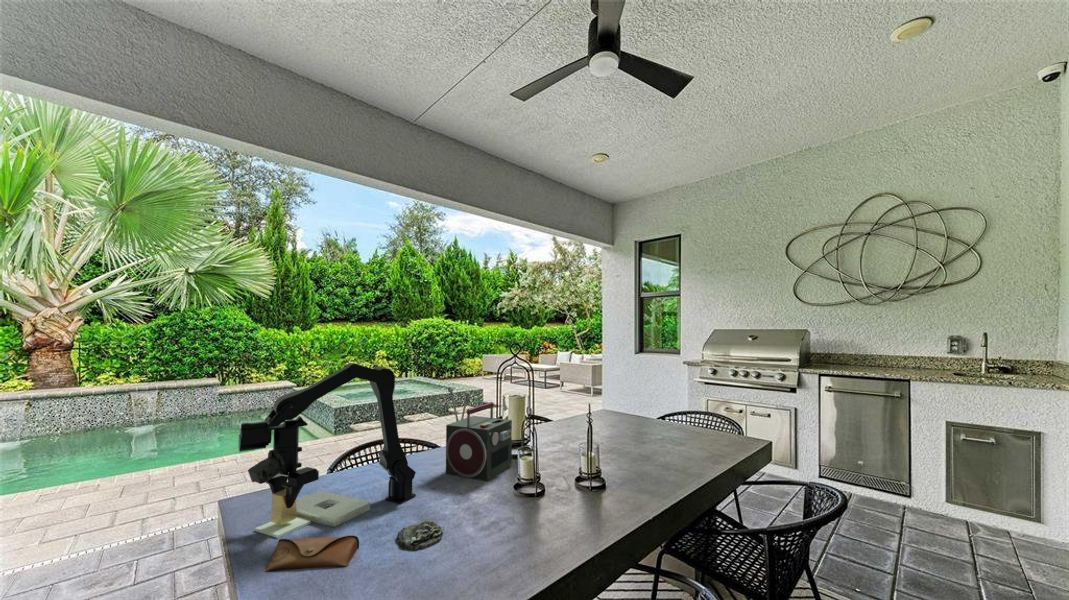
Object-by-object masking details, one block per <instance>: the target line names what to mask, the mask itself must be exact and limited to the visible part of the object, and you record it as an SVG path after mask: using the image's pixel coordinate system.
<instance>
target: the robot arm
mask: <svg viewBox="0 0 1069 600" xmlns="http://www.w3.org/2000/svg"><path fill="white" fill-rule="evenodd" d="M353 379H360V380H364V381H369V384H370V387H371V389H372V391H373V393H374V395H375V397H376V400H377V401H376V402H377V407H378V412H379V413H378V414H379V420H380V428H381V433H382V435H381V436H382V440H383V446H382V450H378V451H377V455H378V456H379V463H378V465H380V466H381V467H382V469H383V470H385V471H386V472H387V474H388V475H389V479H388V480H389V481H388V491H387V492H388V493H387V496H385V498H384V500H385V501H389V502H394V503H398V504H403V503H405V502H407V501H408V500H410V499H412V498H414V497H416V493H413V480H414V479H415V476H416V471H415V470H414V469H413V468H412V467H410V466H409V462H408V459H407V457H406V453H405V451H404V449H403V446H402V445H401V442H400V438H399V432H398V430H399V429H398V426H397V418H396V411H395V404H394V397H393V396H394V392H395V387H396V374H395V372H394V371H393V370H392V369H390V368H387V367H383V366H376V367H374V368H371V367H367V366H363V365H360V364H358V363H355V362H350V363H348V364H346V365H345V366H344V367H342V368H341V369H338V370H336V371H335V372H333V373H331V374H329V375H328V376H325V377H323V378H322V379H320V380H318V381H316V382H315V383H313V384H311V385H309V386H307V387H304V388H302V389H299V390H298V389H297V390H295V391H293V392H289V393H286V394H283V395H280V396H278V398H277V399H275V401H274V403H273V409H272V410H271V411H270V412H269V414H268V415H267V416H266V417H265V418H264V421H256V422H241V423H240V429H239V434H238V452H239V453H240V452H248V451H255V450H261V449H266V448H267V446H270V444H271V443H272V438H273V444H272V446H273V447H272V449H269V450H268V453H267V458H264V459H263V460H261V461H259V462H258V463H256V464H255V465H253V466H251V467H250V468H248V469H247V472H248V475H249V477H250V480H251V482H252V483H256V484H257V483H258V484H260V485H262V484H267V485H268V486H269V489H270V490H271V495H272V494H273V493H276V492H279V491H282V490H284V489H286V503H287V508H291V507H292V506H293V504H294V502H295V500H296V498H297V499H298V496H299V494H300V493H301V491H302V488H303V487H304V485H307V484H310V483H312V482H313V483H314V482H316V481H318V480H319V476H320V471H319V470H318V469H317V468H313V467H308V466H305V467H303V465H302V464H303V463H302V462H299V453H301V452H302V451H303V447H302V446H299V442H300V441H299V438H300V437H299V436H300V427H306V426H308V422H307V421H305V420H304V419H303V417H302V416H300V415H301V414H302V413H304V412H305V411H306V410H308V408H309V407H310V406H311V405H312V404H313V403H314V402H316V401H317V400H318V399H320V398H322V397H324V396H326V395H328V394H329V393H331V392H333V391H335V390H336V389H338V388H339V387H341V386H344V385H345V384H347V383H349V382H350V381H352V380H353ZM272 431H273V434H272ZM272 435H273V437H272ZM301 467H302V468H301ZM299 468H300V469H299Z"/></svg>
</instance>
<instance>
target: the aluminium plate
mask: <svg viewBox="0 0 1069 600" xmlns="http://www.w3.org/2000/svg"><path fill="white" fill-rule="evenodd" d="M370 510H371V502H370V501H366V500H362V499H358V498H353V497H349V496H346V495H341V494H337V493H332V492H330V491H329V492H328V491H325V490H319V491H317V492H314V493H311V494H309V495H307V496H304V497H301V498H299V499H297V500H296V517H299V518H303V519H306V520H310V521H311V522H314V523H317V524H321V525H324V526H328V527H331V528H335V527H337V526H339V525H341V524H344V523H346V522H348V521H349V520H352V519H353V518H355V517H358V516H360V515H362V514H364V513H366V512H368V511H370Z"/></svg>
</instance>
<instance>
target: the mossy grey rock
mask: <svg viewBox="0 0 1069 600" xmlns="http://www.w3.org/2000/svg"><path fill="white" fill-rule="evenodd" d="M443 530H444V527H441V526H440V525H438V524H437V522H435V521H433V520H427V519H426V520H423V521H422V522H420V523H417V524H411V525H408V526H407V527H403V528H402V529H400V531H398V533H397V535H396V540H395V541H396V545H397V546H398V548H400V549H402V550H403V551H412V552H418V551H420V550H426V549H427V548H431V547H432V546H435V545H438V544H439V543H440V542H441V541H442V537H443V534H444V532H443Z"/></svg>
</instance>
